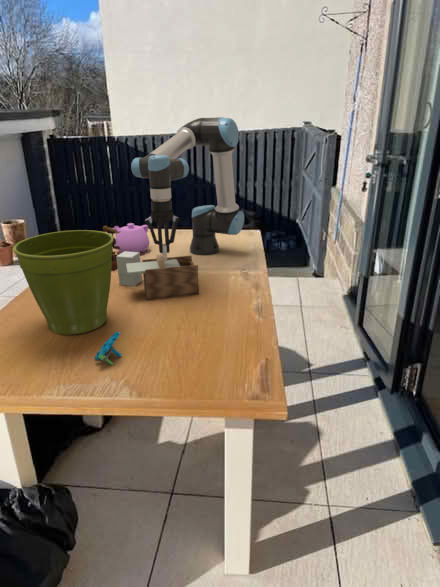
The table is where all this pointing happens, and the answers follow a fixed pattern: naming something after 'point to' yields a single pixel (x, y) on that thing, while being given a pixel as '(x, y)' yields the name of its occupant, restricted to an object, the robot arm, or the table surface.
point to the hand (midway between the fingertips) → (165, 260)
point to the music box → (114, 260)
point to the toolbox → (172, 279)
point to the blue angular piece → (106, 347)
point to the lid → (150, 265)
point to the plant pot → (69, 277)
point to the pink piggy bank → (132, 238)
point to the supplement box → (122, 269)
